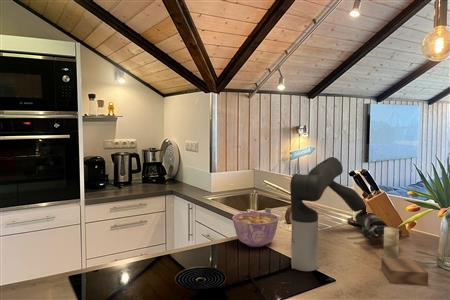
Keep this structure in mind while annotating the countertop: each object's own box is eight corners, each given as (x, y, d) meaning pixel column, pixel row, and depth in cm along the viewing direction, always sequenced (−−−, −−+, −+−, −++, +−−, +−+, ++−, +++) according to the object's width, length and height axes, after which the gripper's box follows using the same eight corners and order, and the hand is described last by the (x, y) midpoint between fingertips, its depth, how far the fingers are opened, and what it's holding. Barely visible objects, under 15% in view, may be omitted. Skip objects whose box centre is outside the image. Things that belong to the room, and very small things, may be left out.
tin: (298, 218, 191) (298, 203, 191) (303, 219, 189) (303, 203, 189) (284, 224, 180) (284, 208, 179) (289, 225, 178) (289, 209, 177)
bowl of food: (260, 255, 136) (260, 226, 135) (222, 244, 150) (222, 218, 149) (287, 242, 151) (287, 216, 150) (251, 233, 164) (251, 209, 164)
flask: (266, 225, 177) (266, 206, 177) (278, 228, 172) (278, 208, 171) (257, 228, 172) (257, 209, 171) (269, 231, 167) (269, 211, 166)
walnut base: (390, 282, 112) (391, 270, 111) (381, 268, 122) (381, 257, 122) (428, 285, 110) (428, 272, 109) (415, 270, 120) (415, 259, 120)
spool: (385, 262, 128) (386, 230, 127) (381, 257, 133) (382, 226, 132) (400, 263, 127) (401, 231, 126) (395, 258, 132) (396, 227, 131)
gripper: (358, 216, 152) (367, 227, 136) (393, 217, 150) (406, 228, 134) (358, 233, 153) (366, 245, 137) (392, 234, 150) (405, 247, 134)
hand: (386, 237), depth 135 cm, fingers open, 8 cm apart
